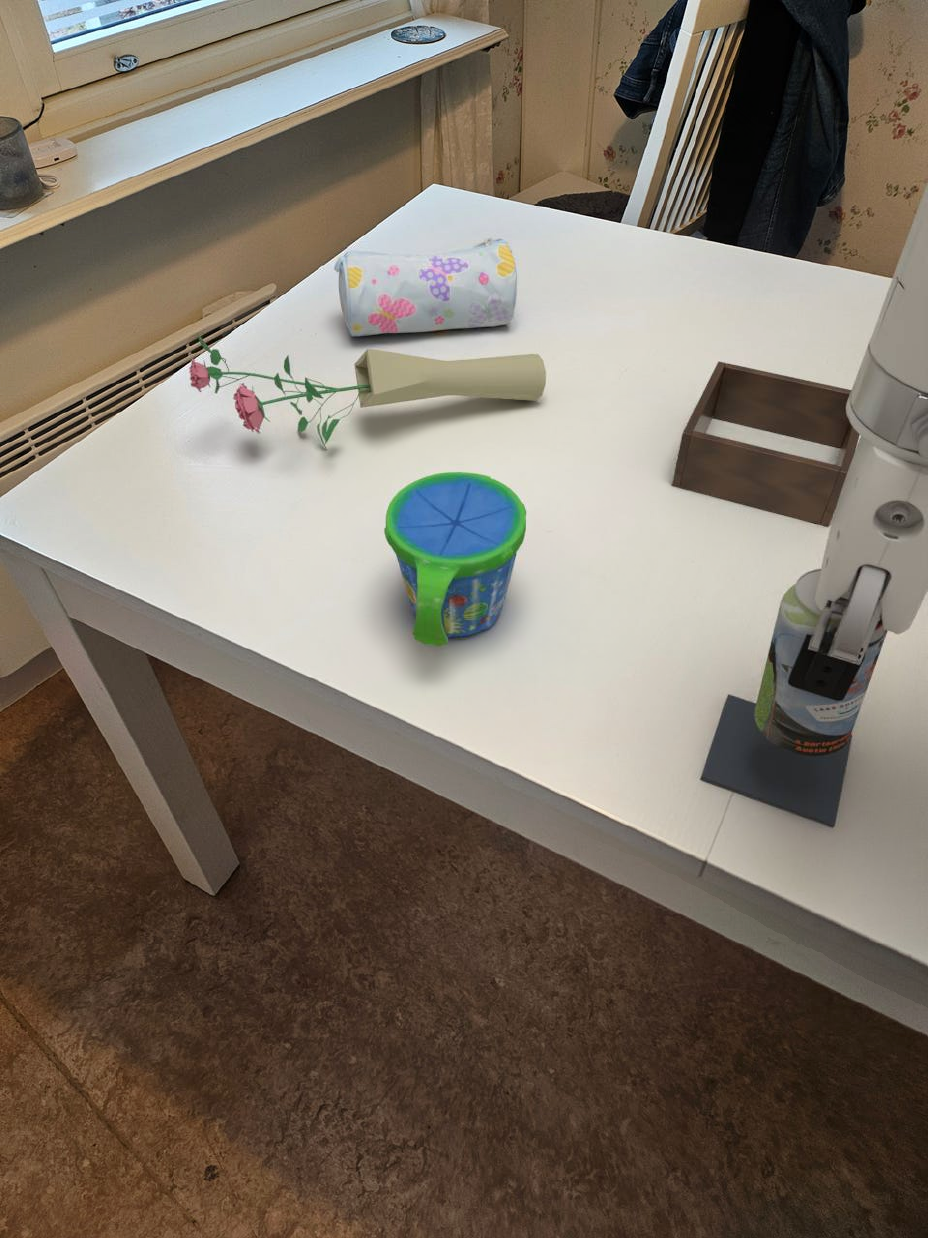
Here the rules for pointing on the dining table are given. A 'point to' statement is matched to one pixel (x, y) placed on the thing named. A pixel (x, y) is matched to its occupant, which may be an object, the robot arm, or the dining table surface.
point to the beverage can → (795, 712)
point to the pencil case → (428, 289)
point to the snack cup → (455, 550)
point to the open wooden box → (760, 470)
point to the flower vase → (392, 382)
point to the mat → (773, 767)
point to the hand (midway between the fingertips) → (825, 648)
